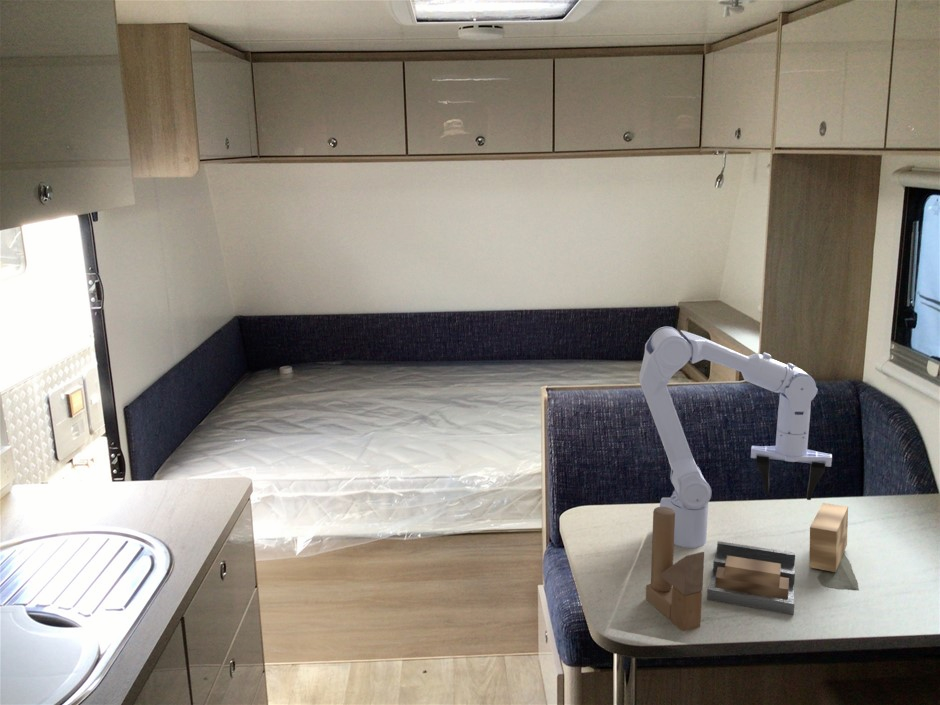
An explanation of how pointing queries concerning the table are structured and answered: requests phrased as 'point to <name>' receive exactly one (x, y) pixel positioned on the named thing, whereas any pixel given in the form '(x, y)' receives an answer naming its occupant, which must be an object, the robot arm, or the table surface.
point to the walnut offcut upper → (752, 571)
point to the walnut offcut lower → (752, 586)
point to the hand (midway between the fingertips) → (787, 495)
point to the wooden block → (674, 575)
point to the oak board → (828, 537)
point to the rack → (746, 598)
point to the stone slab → (839, 577)
